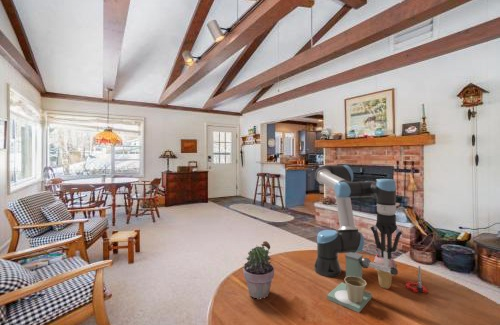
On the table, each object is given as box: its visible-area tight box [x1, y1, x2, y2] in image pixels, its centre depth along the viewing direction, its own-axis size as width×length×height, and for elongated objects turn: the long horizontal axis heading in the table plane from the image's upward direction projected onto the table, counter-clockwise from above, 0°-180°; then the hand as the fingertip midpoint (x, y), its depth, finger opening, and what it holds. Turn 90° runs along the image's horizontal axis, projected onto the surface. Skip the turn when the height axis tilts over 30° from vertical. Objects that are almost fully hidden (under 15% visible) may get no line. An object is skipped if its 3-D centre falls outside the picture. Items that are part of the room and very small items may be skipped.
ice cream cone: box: [372, 248, 398, 290], centre depth 126 cm, size 11×11×20 cm
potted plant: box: [240, 241, 275, 300], centre depth 120 cm, size 18×20×25 cm
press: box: [326, 252, 373, 314], centre depth 116 cm, size 15×17×19 cm
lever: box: [360, 257, 399, 276], centre depth 112 cm, size 16×3×4 cm, turn 45°
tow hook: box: [405, 265, 429, 294], centre depth 124 cm, size 8×13×9 cm
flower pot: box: [344, 276, 368, 303], centre depth 112 cm, size 9×9×9 cm
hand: (386, 265), depth 109 cm, fingers closed
